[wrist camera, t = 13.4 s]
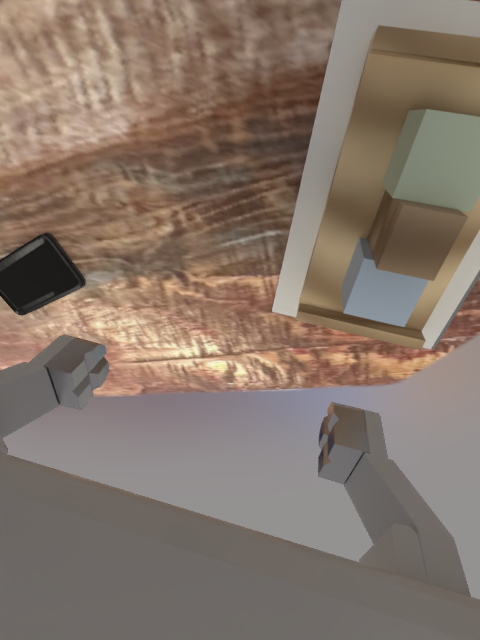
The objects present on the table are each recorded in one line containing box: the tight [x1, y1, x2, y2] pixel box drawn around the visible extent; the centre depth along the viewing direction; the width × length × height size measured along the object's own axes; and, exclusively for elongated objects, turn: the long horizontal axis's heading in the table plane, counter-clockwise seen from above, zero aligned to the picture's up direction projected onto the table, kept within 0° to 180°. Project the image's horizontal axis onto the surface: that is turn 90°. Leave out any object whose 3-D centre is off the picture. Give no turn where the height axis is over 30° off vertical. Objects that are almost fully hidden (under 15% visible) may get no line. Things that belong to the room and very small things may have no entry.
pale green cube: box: [382, 109, 480, 212], centre depth 19 cm, size 4×4×4 cm
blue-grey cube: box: [341, 238, 429, 327], centre depth 24 cm, size 4×4×4 cm
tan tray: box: [296, 25, 480, 350], centre depth 22 cm, size 20×11×8 cm, turn 172°
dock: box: [272, 0, 480, 349], centre depth 27 cm, size 24×16×4 cm
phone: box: [0, 233, 85, 315], centre depth 43 cm, size 8×1×15 cm
